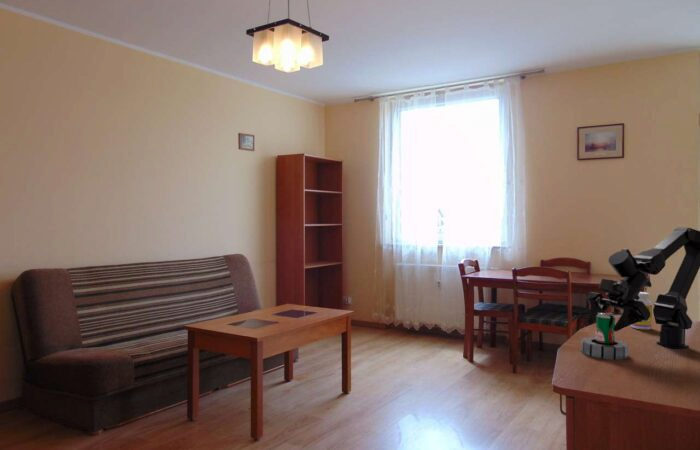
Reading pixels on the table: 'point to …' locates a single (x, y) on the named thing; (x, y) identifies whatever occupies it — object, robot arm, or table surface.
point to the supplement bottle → (644, 297)
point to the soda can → (605, 328)
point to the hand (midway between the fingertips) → (601, 326)
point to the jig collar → (604, 349)
